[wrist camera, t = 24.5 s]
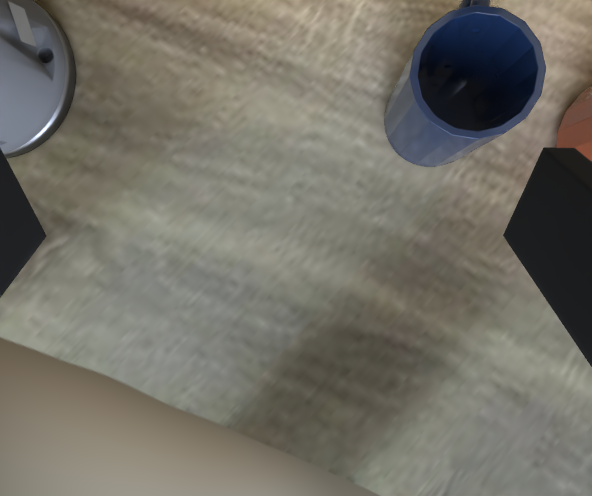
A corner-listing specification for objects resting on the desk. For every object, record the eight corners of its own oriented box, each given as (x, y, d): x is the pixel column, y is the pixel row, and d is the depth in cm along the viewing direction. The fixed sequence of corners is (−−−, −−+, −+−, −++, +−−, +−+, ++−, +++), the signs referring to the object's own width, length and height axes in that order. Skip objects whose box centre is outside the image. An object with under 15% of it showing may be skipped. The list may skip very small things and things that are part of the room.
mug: (469, 173, 34) (531, 147, 24) (376, 159, 35) (400, 127, 25) (493, 41, 34) (567, -41, 24) (399, 28, 34) (432, -58, 24)
